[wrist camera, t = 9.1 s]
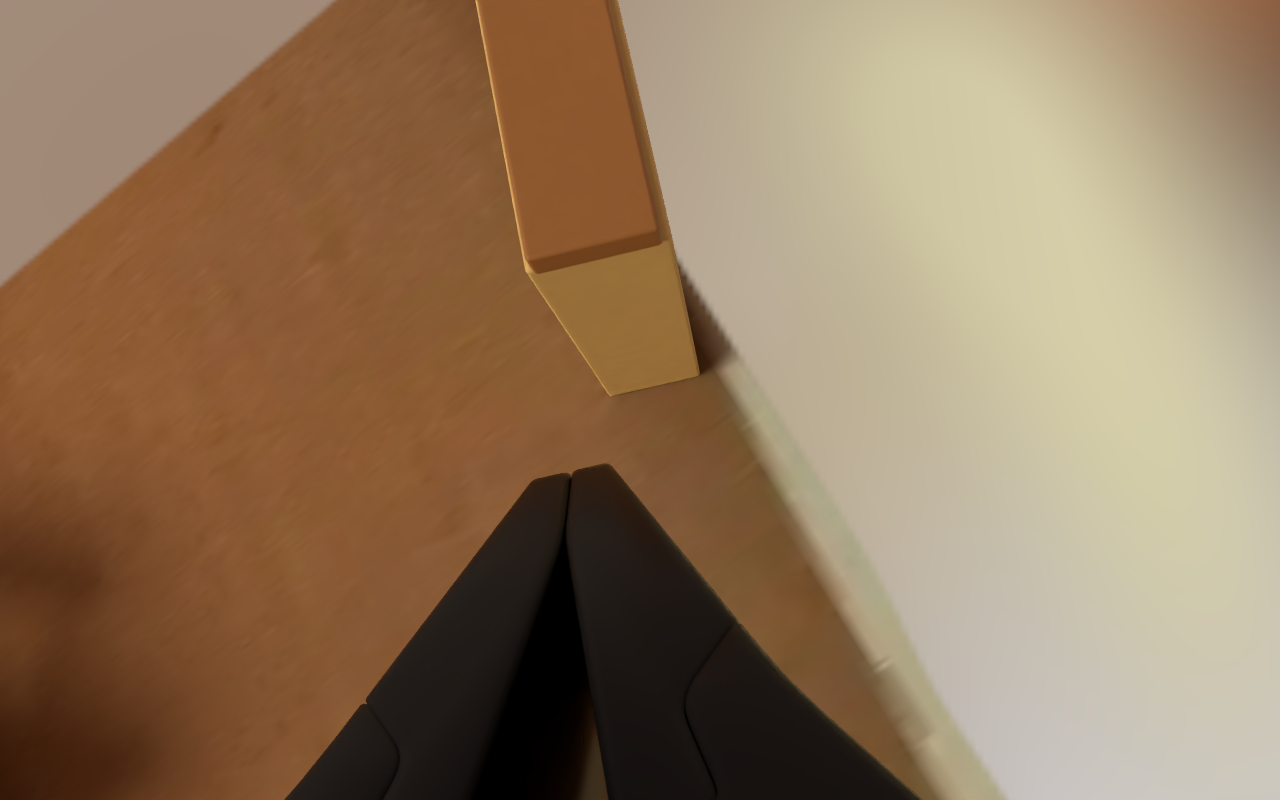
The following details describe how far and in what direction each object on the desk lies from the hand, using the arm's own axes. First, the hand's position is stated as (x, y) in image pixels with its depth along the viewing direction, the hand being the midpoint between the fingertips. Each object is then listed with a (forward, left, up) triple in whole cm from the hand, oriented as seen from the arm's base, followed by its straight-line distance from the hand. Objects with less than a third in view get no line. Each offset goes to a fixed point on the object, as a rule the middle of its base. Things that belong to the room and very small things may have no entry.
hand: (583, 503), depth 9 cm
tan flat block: (+8, +2, -14) cm, 16 cm away
